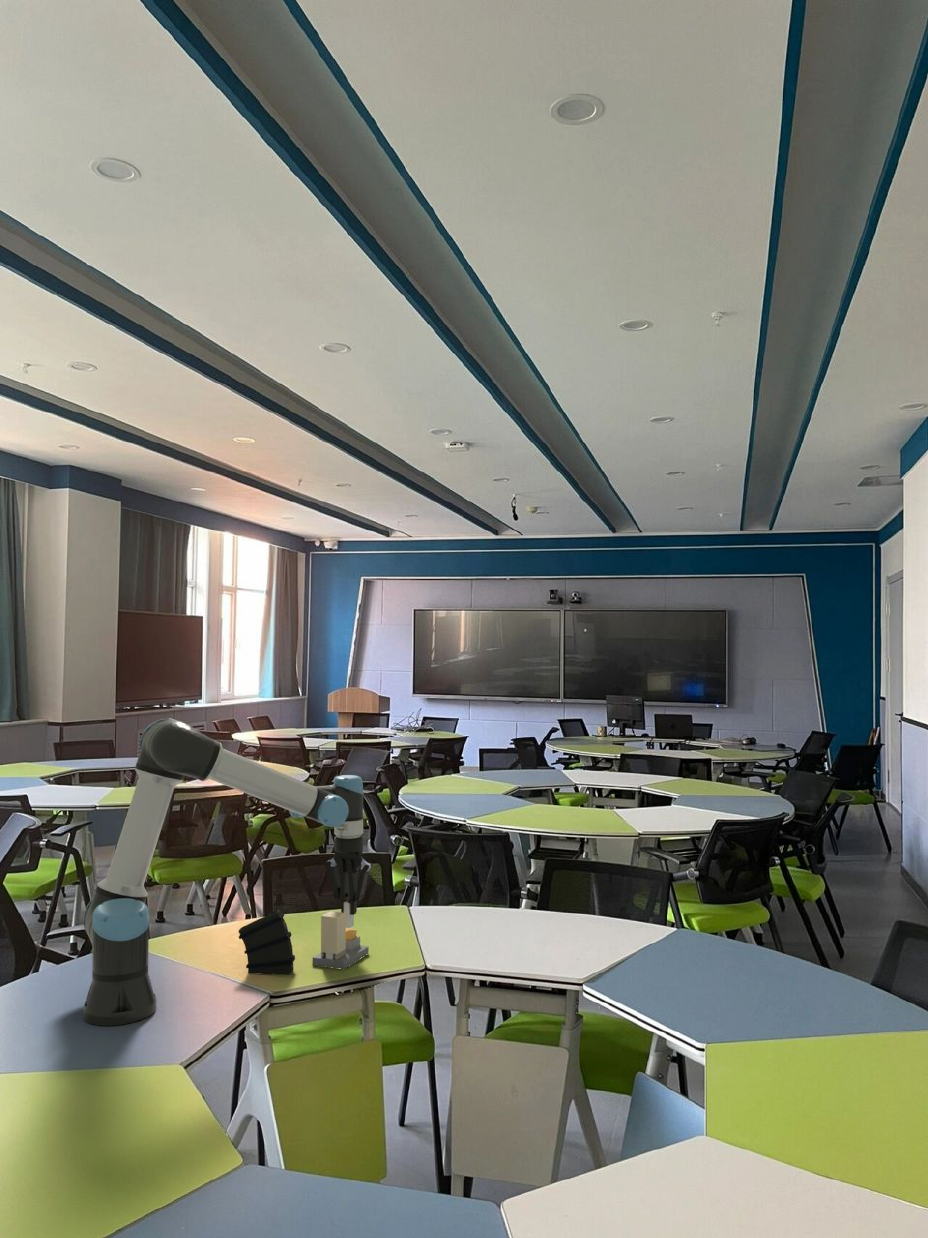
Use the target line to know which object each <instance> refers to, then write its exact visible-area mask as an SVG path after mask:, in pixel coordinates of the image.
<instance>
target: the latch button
mask: <svg viewBox="0 0 928 1238" xmlns="http://www.w3.org/2000/svg"><path fill="white" fill-rule="evenodd" d="M356 936H357V929H356V928H351V927H350V928H346V940H353V939H355V938H356Z"/></svg>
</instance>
